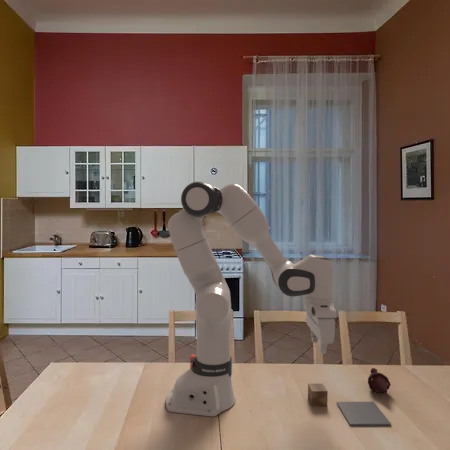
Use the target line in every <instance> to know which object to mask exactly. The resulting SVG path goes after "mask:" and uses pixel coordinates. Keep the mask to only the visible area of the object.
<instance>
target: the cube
mask: <svg viewBox="0 0 450 450" xmlns="http://www.w3.org/2000/svg"><path fill="white" fill-rule="evenodd" d="M328 395H329V394H328V390H327V388H326V386H325V384H324V383H307V400H308V401H309V404H310V405H311V407H328Z"/></svg>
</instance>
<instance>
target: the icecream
mask: <svg viewBox="0 0 450 450" xmlns="http://www.w3.org/2000/svg"><path fill="white" fill-rule="evenodd" d="M367 384H368V388H369V389H370V391H372V392H374V393H376V394H387V393H388V390H389V389H390V386H392V385H391V382H390V380H389V377H387V376H386V375H384V374H383V373H381V372H378V369H377V368H375V367H371V369H370V374H369V376H368V377H367Z"/></svg>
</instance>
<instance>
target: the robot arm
mask: <svg viewBox="0 0 450 450" xmlns="http://www.w3.org/2000/svg"><path fill="white" fill-rule="evenodd" d="M180 201H181V206H182V209H181V210H180V211H178V212H176V213H174V214H173V215H172V216H171V217H170V218H169V219H168V223H167V227H168V232H169V236H170V239H171V244H172V247H173V249H174V251H175V254H176V256H177V259H178V262H179V263H180V266H181V268H182V272H183V273H184V275H185V276H186V278H187V280H188V281H189V283H190V286H191V287H192V289H193V291H194V293H195V295H196V298H195V303H194V305H195V307H194V309H195V329H196V354H194V353H193V354H191V355H190V358H189V361H190V364H189V365H190V368H189V369H188V370H186V371H184V372H182V374H180V375H179V376H178V377H177V379H176V380H175V383H174V384H173V385H174V386H173V388H172V389H170V391H169V392H168V394H167V396H166V399H165V407H166V408H165V409H166V410H167V411H168V412H170V413H178V414H184V415H185V414H186V415H195V416H204V417H217V416H218V415H219V414H220V413H221V412H222V413H223V412H224V411H227V410H228V409H230V408H232V407H233V405H235V403H236V397H235V394H234V389H233V383H232V382H233V381H232V374H233V361H232V360H233V359H232V356H231V338H232V337H231V336H232V335H231V331H232V330H231V327H232V324H231V323H232V299H231V298H232V297H231V290H230V288H229V286H228V283H227V282H226V279H225V276H224V274H223V272H222V270H221V267H220V266H219V263H218V262H217V258H216V257H215V254H214V252H213V249H212V248H211V245H210V243H209V240H208V238H207V236H206V233H205V230H204V227H203V220H204V219H205V218H206V217H207V216H210V215H211V214H213V213H218V214H220V215H221V216H222V218H224V220H225V221H226V222H227V223H228V225H229V226H230V228H231V229H232V231H233V232H234V233H235V234H237V236H239V238H240V239H241V240H243V241H244V242H245V243H247V244H249V245H250V246H252V247H254V249H255V250H256V251H257V252H258V253H259V254H260V256H261V257H262V258H263V260H264V261H265V262H266V264H267V265H268V267H269V269H270V272H271V277H272V281H273V282H274V284H275V285H276V286H277V287H278V289H279V290H280V291H281V293H283V294H284V295H285V296H287V297H300V296H304V310H305V311H306V315H305V320H306V321H305V323H306V324H307V326H308V327H309V329H310V334H311V341H312V343H315V344H316V343H318V342H319V343H320V344H319V347H318V348H319V353H320V355H321V354H322V355H325V354H327V347H328V345H329V344H330V345H331V344H333V343H334V341H335V334H336V333H335V331H336V321H335V320H336V319H335V318H337V316H338V315H337V310H336V308H335V305H334V303H335V302H334V294H333V286H334V269H333V264H332V261H331V260H330V259H329V258H327V257H325V256H322V255H317V254H308V255H307V256H306V257H304V258H303V259H301V260H299V261H298V262H293V261H292V260H290V259H288V258H287V257H286V256H285V255H284V254H283V253H282V251H281V250H280V249H279V247H278V246H277V244H276V243H275V242H274V240H273V239H272V236H271V234H270V229H269V228H270V227H269V223H268V220H267V218H266V216H265V214H264V213H263V211H262V209H261V208H260V206H259V205H258V204H257V203H256V201H255V200H254V199H253V198H252V197H251V195H250V194H249V193H248V192H247V191H246V190H245V189H244V188H243V187H242V186H241V185H240V184H237V183H230V184H227V185H225V186H224V187H222V188H220V189H219V188H217V187H216V186H213V185H211V184H209V183H206V182H203V181H193V182H191V183H189V184H187V185H186V186H185V188H183V191H182V192H181V196H180Z"/></svg>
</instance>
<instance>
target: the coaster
mask: <svg viewBox="0 0 450 450" xmlns="http://www.w3.org/2000/svg"><path fill="white" fill-rule="evenodd" d="M336 405H337V407H338V408H339V410H340V411H341V413H342V415H343V416H344V418H345V420H346V422H347V423H348V425H349V427H356V426H357V427H365V426H366V427H367V426H368V427H376V426H377V427H378V426H379V427H380V426H386V427H391V426H392V423H391V421H389V419H388V418H387V417H386V415H385V414H384V413H383V411H382V410H381V409H380V407H379V406H378V405H377V403H376V402H374V401H336Z"/></svg>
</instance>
